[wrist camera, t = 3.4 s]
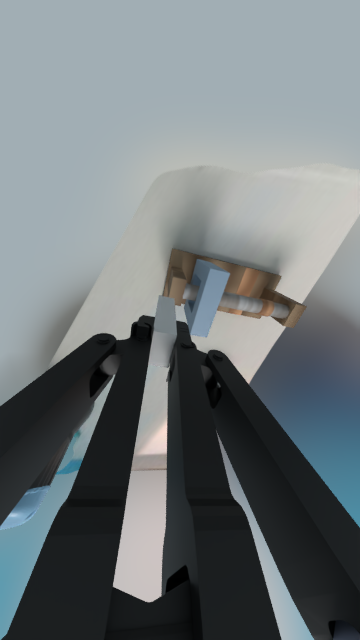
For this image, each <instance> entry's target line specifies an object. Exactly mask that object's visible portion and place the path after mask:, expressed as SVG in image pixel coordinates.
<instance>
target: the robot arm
mask: <svg viewBox="0 0 360 640" xmlns="http://www.w3.org/2000/svg"><path fill="white" fill-rule="evenodd" d="M169 364H170V368H169V372H168V376H167V379H166V382H168V421H167V495H166V498H167V500H166V530H165V537H164V545H163V560H162V596H161V597H159V598H158V599H156V600H155V601H153V602H145V601H143V600H140V599H138V598H136V597H134V596H132V595H130V594H127V593H125V592H123V591H121V590H119V589H116V588H114V587H113V581H114V575H115V569H116V562H117V556H118V549H119V544H120V538H121V530H122V524H123V519H124V511H125V505H126V498H127V491H128V485H129V479H130V473H131V467H132V460H133V454H134V448H135V442H136V436H137V430H138V424H139V417H140V411H141V405H142V399H143V393H144V387H145V381H146V374H147V368H148V365H152V366H160V367H167V368H168V367H169ZM114 374H116V375H115V378H114V380H113V383H112V386H111V388H110V391H109V393H108V396H107V399H106V401H105V404H104V406H103V409H102V411H101V414H100V417H99V419H98V422H97V424H96V427H95V430H94V432H93V435H92V437H91V440H90V443H89V445H88V448H87V450H86V453H85V456H84V458H83V461H82V463H81V466H80V469H79V471H78V474H77V477H76V479H75V482H74V484H73V487H72V489H71V492H70V494H69V496H68V498H67V499H66V501H65V502H64V503H63V505H62V506H61V507H60V509H59V511H58V513H57V515H56V517H55V519H54V521H53V523H52V525H51V528H50V530H49V532H48V534H47V537H46V539H45V542H44V544H43V547H42V549H41V552H40V554H39V557H38V559H37V562H36V564H35V566H34V569H33V571H32V574H31V576H30V579H29V581H28V583H27V586H26V588H25V591H24V593H23V596H22V598H21V601H20V603H19V606H18V608H17V611H16V613H15V616H14V618H13V620H12V623H11V625H10V628H9V630H8V633H7V634H6V635H5V636H4V637H3V638H2V639H1V640H281V636H280V633H279V629H278V626H277V622H276V618H275V614H274V611H273V607H272V604H271V600H270V597H269V593H268V589H267V586H266V582H265V578H264V575H263V571H262V568H261V564H260V560H259V557H258V553H257V549H256V546H255V542H254V538H253V535H252V531H251V528H250V525H249V522H248V519H247V516H246V514H245V512H244V510H243V509H242V507H241V505H239V503H238V502H237V501H236V500H235V499H234V498H233V496H232V494H231V490H230V487H229V483H228V478H227V474H226V470H225V466H224V462H223V458H222V453H221V449H220V445H219V441H218V437H217V433H218V435H219V437H220V440H221V441H222V444H223V446H224V449H225V451H226V453H227V455H228V458H229V460H230V462H231V464H232V467H233V469H234V471H235V473H236V476H237V478H238V480H239V482H240V484H241V487H242V489H243V491H244V494H245V496H246V498H247V500H248V502H249V505H250V507H251V509H252V512H253V514H254V516H255V518H256V521H257V523H258V525H259V527H260V529H261V532H262V534H263V536H264V538H265V541H266V543H267V545H268V547H269V549H270V552H271V554H272V556H273V559H274V561H275V563H276V565H277V568H278V570H279V572H280V574H281V576H282V578H283V580H284V583H285V585H286V587H287V589H288V591H289V593H290V595H291V597H292V599H293V601H294V603H295V605H296V607H297V609H298V610H299V612H300V614H301V616H302V618H303V620H304V622H305V624H306V625H307V627H308V629H309V631H310V633H311V635H312V636H313V638H314V640H360V528H359V526H358V525H357V524H356V522H355V521H354V520H353V519H352V517H351V516H350V515H349V513H348V512H347V511H346V510H345V508H344V507H343V506H342V504H341V503H340V502H339V501H338V499H337V498H336V497H335V496H334V494H333V493H332V491H331V490H330V489H329V488H328V486H327V485H326V484H325V482H324V481H323V480H322V479H321V477H320V476H319V475H318V473H317V472H316V471H315V470H314V468H313V467H312V466H311V464H310V463H309V462H308V461H307V459H306V458H305V457H304V455H303V454H302V453H301V451H300V450H299V449H298V448H297V446H296V445H295V444H294V442H293V441H292V440H291V439H290V437H289V436H288V435H287V433H286V432H285V431H284V430H283V428H282V427H281V426H280V424H279V423H278V422H277V420H276V419H275V418H274V417H273V415H272V414H271V413H270V412H269V410H268V409H267V408H266V406H265V405H264V404H263V403H262V401H261V400H260V399H259V397H258V396H257V395H256V393H255V392H254V391H253V389H252V388H251V387H250V386H249V384H248V383H247V382H246V380H245V379H244V378H243V377H242V375H241V374H240V373H239V371H238V370H237V369H236V368H235V366H234V365H233V364H232V362H231V361H230V360H229V358H228V357H227V356H226V355H225V354H224V353H222V352H221V351H218V350H210V351H209V352H208V354H206V353H203V352H201V351H199V350H197V348H196V345H195V344H194V343H193V342H192V341H191V336H190V332H189V327H188V325H187V324H186V323H185V322H181V321H176V314H175V301H174V298H169V297H164V296H160V295H159V299H158V304H157V310H156V315H155V317H150V316H145V315H142V316H141V317H139V320H138V321H137V322H134V323H133V324H132V327H131V336H130V338H128V339H125V340H116V338H115V337H114V336H113V335H111V334H107V333H101V334H97V335H94V336H93V337H91V338H90V339H89V340H87V341H86V342H85V343H83V344H82V345H81V346H79V347H78V348H77V349H75V350H74V351H73V352H71V353H70V354H69V355H67V356H66V357H65V358H64V359H62V360H61V361H60V362H58V363H57V364H56V365H54V366H53V367H52V368H50V369H49V370H48V371H46V372H45V373H44V374H42V375H41V376H40V377H38V378H37V379H36V380H35V381H33V382H32V383H30V384H29V385H28V386H27V387H25V388H24V389H23V390H22V391H20V392H19V393H17V394H16V395H15V396H13V397H12V398H11V399H9V400H8V401H7V402H5V403H4V404H3V405H2V406H0V530H3V529H8V528H12V527H16V526H18V525H21V524H23V523H25V522H27V521H28V520H29V519H30V518H31V517H32V516H33V515H34V514H35V512H36V511H37V510H38V508H39V506H40V504H41V502H42V501H43V499H44V497H45V495H46V493H47V491H48V490H49V489H50V484H51V483H52V481H53V479H54V476H55V474H56V472H57V470H58V468H59V465H60V464H61V461H62V459H63V457H64V455H65V453H66V451H67V449H68V446H69V444H70V442H71V440H72V438H73V436H74V434H75V433H76V432H77V431H78V429H79V428H80V427H81V426H82V425H83V423H84V422H85V421H86V420H87V419H88V418H89V416H90V414H91V412H92V410H93V408H94V401H95V400H96V399H97V397H98V396H99V395H100V393H101V392H102V391H103V389H104V388H105V387H106V385H107V384H108V383H109V381H110V380H111V379H112V377H113V375H114ZM218 383H219V385H220V386H219V385H218ZM216 431H217V432H216Z"/></svg>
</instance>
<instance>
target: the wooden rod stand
mask: <svg viewBox="0 0 360 640" xmlns="http://www.w3.org/2000/svg"><path fill="white" fill-rule="evenodd" d="M197 259H200V260H204V261H208V262H211V263H213V264H215V265H217V266H218V267H220V268H222V269H224V270H225V271H227V272H229V273H230V275H229V278H228V281H227V284H226V286H225V289H224V292H223V295H222V297H221V300H220V303H219V306H218V308H217V310H218V311H223V312H228V313H232V314H237V315H243V316H248V317H253V318H259V319H260V318H261V316H271V317H272V318H274V319H275V320H276V321H278V322H279V323H280V324H282V325H283V326H286V327H292V328H294V326H295V325H296V323H297V322H298V319H299V318H300V317H301V315H302V313H303V312H304V310H305V309H306V306H304V305H302V304H300V303H298V302H296V301H294V300H292V299H290V298H288V297H286V296H284V295H282V294H280V293H278V292H276V291H274V290H275V288H276V286H277V284H278V282H279V280H280V279H281V277H282V276H279V275H275V274H271V273H268V272H264V271H260V270H256V269H252V268H248V267H244V266H240V265H236V264H232V263H228V262H224V261H220V260H216V259H212V258H208V257H204V256H200V255H196V254H192V253H188V252H184V251H180V250H176V249H172V252H171V258H170V263H169V268H168V273H167V278H166V283H165V288H164V293H163V296H164V297H169V298H174V301H175V305H178V306H181V303H182V304H185V302H186V299H188V300H192V301H196V297H197V294H198V290H199V287H200V286H197V285H192V284H190V283H191V280H192V276H193V272H194V268H195V265H196V261H197Z"/></svg>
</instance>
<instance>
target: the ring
mask: <svg viewBox="0 0 360 640" xmlns="http://www.w3.org/2000/svg"><path fill="white" fill-rule="evenodd" d="M229 275H230V273H229V272H227V271H225V270H224V269H222V268H220V267H218V266H217V265H215V264H213V263H211V262H208V261H204V260H200V259H197V261H196V265H195V268H194V272H193V276H192V280H191V283H190V284H192V285H197V286H200V287H199V290H198V294H197V297H196V301H192V300H188V299H186V302H185V306H184V310H185V315H186V319H187V323H188V327H189V332H190V335H195V336H202V337H207V336H208V333H209V330H210V327H211V325H212V322H213V319H214V317H215V314H216V311H217V308H218V306H219V303H220V300H221V297H222V295H223V292H224V289H225V286H226V284H227V281H228V278H229Z"/></svg>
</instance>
